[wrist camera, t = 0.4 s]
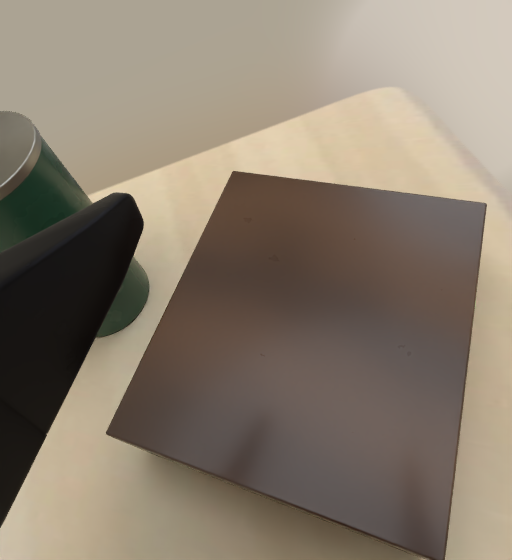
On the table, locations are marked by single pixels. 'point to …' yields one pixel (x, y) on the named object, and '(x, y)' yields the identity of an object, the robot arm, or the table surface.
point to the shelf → (320, 354)
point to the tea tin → (51, 206)
